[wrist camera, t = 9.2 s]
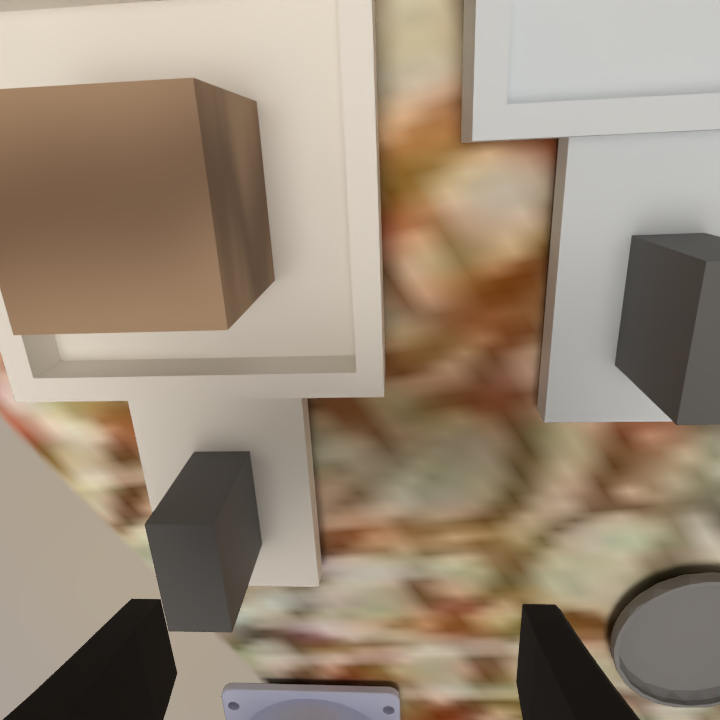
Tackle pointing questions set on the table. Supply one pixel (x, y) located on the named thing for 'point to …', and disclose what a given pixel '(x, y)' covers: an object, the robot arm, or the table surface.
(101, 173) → the walnut cube
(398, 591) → the table surface
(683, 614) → the pocket watch
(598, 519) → the table surface
